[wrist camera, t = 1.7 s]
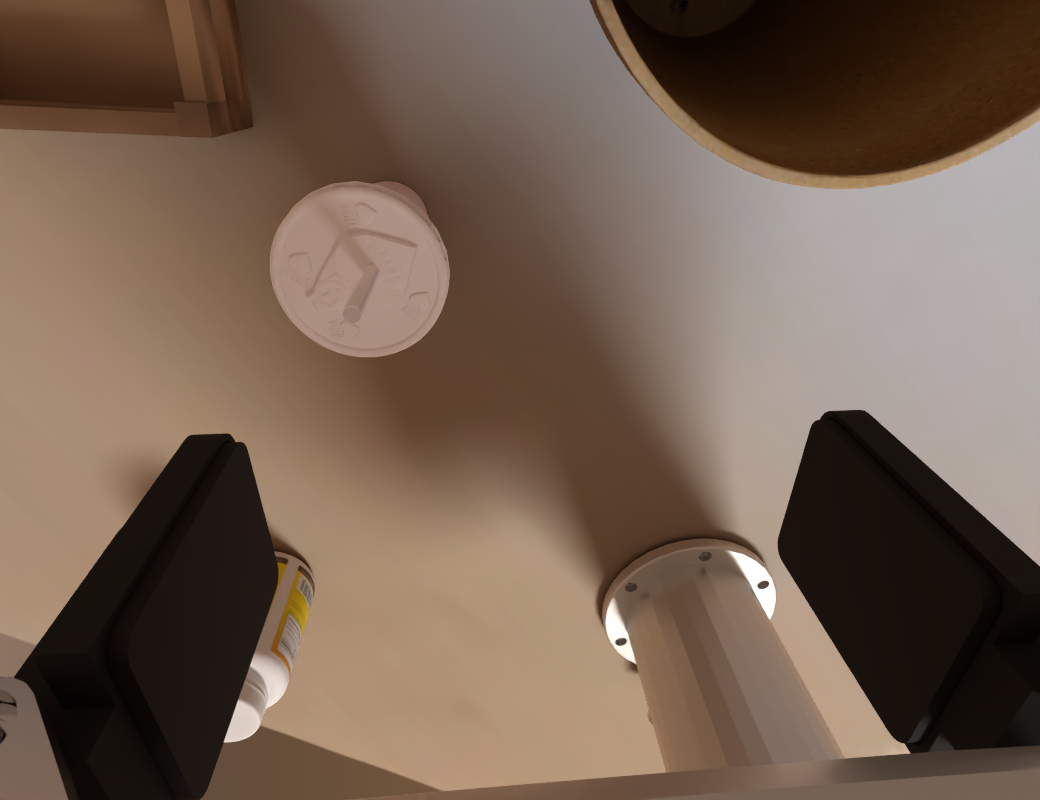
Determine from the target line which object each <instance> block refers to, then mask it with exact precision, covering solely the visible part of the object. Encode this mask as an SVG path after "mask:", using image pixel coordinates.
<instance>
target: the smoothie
mask: <svg viewBox="0 0 1040 800" xmlns="http://www.w3.org/2000/svg"><path fill="white" fill-rule="evenodd" d="M270 276H271V281H272V285H273V289H274V292H275V295H276V297H277V299H278V301H279V303H280V305H281V307H282V309H283V310H284V312H285V313H286V315H287V316H288V318H289V319H290V320H291V321H292V322H293V324H294V325H295V326H296V327H297V328H298V329H299V330H300V331H301V332H303V333H304V334H305V335H306V336H307V337H309V338H310V339H312V340H313V341H315V342H316V343H318V344H320V345H321V346H323V347H325V348H328V349H330V350H332V351H335V352H338V353H341V354H345V355H349V356H355V357H380V356H386V355H390V354H394V353H397V352H399V351H402V350H404V349H406V348H408V347H410V346H412V345H413V344H415V343H416V342H418V341H419V340H420V339H421V338H422V337H424V336H425V335H426V334H427V333H428V332H429V330H430V329H431V328H432V327H433V325H434V324H435V323H436V321H437V319H438V317H439V316H440V313H441V311H442V309H443V306H444V303H445V300H446V297H447V295H448V287H449V279H450V269H449V262H448V255H447V250H446V248H445V246H444V243H443V241H442V239H441V237H440V234H439V232H438V230H437V228H436V227H435V226H434V225H433V223H432V222H431V221H430V219H429V217H428V214H427V210H426V208H425V205H424V203H423V201H422V200H421V198H420V197H419V196H418V195H417V194H416V193H415V192H414V191H413V190H412V189H410V188H409V187H407V186H406V185H403V184H401V183H398V182H393V181H382V182H377V183H373V184H371V183H365V182H359V181H352V182H342V183H333V184H330V185H327V186H325V187H322V188H320V189H317V190H315V191H313V192H310V193H309V194H308V195H306V196H305V197H304V198H303V199H302V200H300V201H299V202H298V203H297V204H296V205H294V206H293V207H292V208H291V210H290V212H289V213H288V214H287V215H286V217H285V218H284V219H283V221H282V222H281V224H280V226H279V227H278V229H277V231H276V234H275V236H274V239H273V242H272V246H271V251H270Z"/></svg>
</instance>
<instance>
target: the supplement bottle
mask: <svg viewBox="0 0 1040 800" xmlns="http://www.w3.org/2000/svg"><path fill="white" fill-rule="evenodd" d="M274 552H275V556H276V560H277V564H278V570H279V578H278V585H277V589H276V592H275V595H274V598H273V601H272V604H271V607H270V609H269V612H268V615H267V618H266V621H265V624H264V627H263V630H262V633H261V636H260V638H259V641H258V644H257V647H256V650H255V653H254V656H253V659H252V662H251V664H250V667H249V670H248V673H247V676H246V679H245V682H244V685H243V688H242V690H241V693H240V696H239V699H238V702H237V705H236V708H235V711H234V714H233V717H232V719H231V722H230V725H229V728H228V731H227V734H226V737H225V740H224V742H235V741H239V740H243V739H245V738H247V737H249V736H251V735H252V734H253V733H255V732H256V730H257V729H258V727H259V726H260V723H261V720H262V717H263V714H264V712H265V711H266V708H268V707H270V706H272V705H273V704H274V703H276V702H277V701H278V700H279V699H280V698H281V697H282V695H283V694H284V692H285V690H286V688H287V685H288V682H289V679H290V676H291V672H292V668H293V665H294V662H295V658H296V655H297V651H298V648H299V644H300V641H301V638H302V634H303V631H304V627H305V624H306V620H307V617H308V613H309V610H310V606H311V603H312V599H313V596H314V591H315V580H314V577H313V574H312V573H311V571H310V569H309V568H308V567H307V566H306V565H305V564H304V563H303V562H302V561H300V560H299V559H297V558H295V557H293V556H291V555H289V554H286V553H282V552H276V551H274Z"/></svg>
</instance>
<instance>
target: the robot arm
mask: <svg viewBox="0 0 1040 800" xmlns="http://www.w3.org/2000/svg"><path fill="white" fill-rule="evenodd" d="M778 552H779V555H780V558H781V560H782V562H783V563H784V565H785V567H786V568H787V570H788V571H789V573H790V575H791V576H792V578H793V579H794V581H795V583H796V584H797V586H798V587H799V589H800V591H801V592H802V594H803V595H804V597H805V599H806V600H807V602H808V603H809V605H810V607H811V608H812V610H813V611H814V613H815V615H816V616H817V618H818V619H819V621H820V623H821V624H822V626H823V627H824V629H825V631H826V632H827V634H828V635H829V637H830V639H831V640H832V642H833V643H834V645H835V647H836V648H837V650H838V651H839V653H840V655H841V656H842V658H843V659H844V661H845V663H846V664H847V666H848V667H849V669H850V671H851V672H852V674H853V675H854V677H855V679H856V680H857V682H858V683H859V685H860V687H861V688H862V690H863V691H864V693H865V695H866V696H867V698H868V699H869V701H870V703H871V704H872V706H873V707H874V709H875V711H876V712H877V714H878V715H879V717H880V719H881V720H882V722H883V723H884V725H885V727H886V728H887V730H888V731H889V733H890V734H891V735H892V737H893V738H894V739H896V740H897V741H898V742H901V743H905V745H906V747H907V748H908V750H909V751H910V753H911V754H899V755H886V756H873V757H860V758H847V759H845V757H844V756H843V754H842V752H841V750H840V748H839V746H838V745H837V743H836V741H835V739H834V737H833V735H832V734H831V732H830V730H829V728H828V726H827V724H826V722H825V721H824V719H823V717H822V715H821V713H820V711H819V710H818V708H817V706H816V704H815V702H814V700H813V699H812V697H811V695H810V693H809V691H808V689H807V688H806V686H805V684H804V682H803V680H802V678H801V677H800V675H799V673H798V671H797V669H796V667H795V665H794V664H793V662H792V660H791V658H790V656H789V654H788V653H787V651H786V649H785V647H784V645H783V643H782V642H781V640H780V638H779V636H778V634H777V632H776V631H775V629H774V627H773V625H772V623H771V621H770V618H771V616H772V614H773V612H774V608H775V604H776V586H775V584H774V581H773V578H772V576H771V574H770V572H769V571H768V569H767V567H766V566H765V564H764V563H763V562H762V561H761V559H760V558H759V557H758V556H757V555H756V554H754V553H753V552H751V551H750V550H748V549H747V548H745V547H743V546H740V545H738V544H735V543H733V542H729V541H724V540H718V539H691V540H683V541H678V542H675V543H671V544H667V545H664V546H662V547H659V548H657V549H654V550H652V551H650V552H648V553H646V554H644V555H643V556H641V557H639V558H638V559H636V560H635V561H633V562H632V563H631V564H630V565H628V566H627V567H626V568H625V569H624V570H622V571H621V573H620V574H619V575H618V576H617V577H616V579H615V580H614V581H613V582H612V584H611V586H610V587H609V589H608V591H607V593H606V595H605V598H604V602H603V605H602V620H603V624H604V629H605V633H606V635H607V638H608V640H609V643H610V644H611V645H612V646H613V648H614V649H615V650H616V652H618V653H619V654H620V655H621V656H623V657H624V658H625V659H627V660H629V661H631V662H633V663H635V664H636V665H637V668H638V672H639V675H640V679H641V683H642V686H643V690H644V693H645V697H646V701H647V704H648V708H649V710H648V719H649V721H650V722H651V723H652V725H653V726H654V730H655V733H656V737H657V740H658V744H659V748H660V751H661V755H662V758H663V762H664V766H665V769H666V773H656V774H644V775H632V776H620V777H607V778H595V779H583V780H571V781H559V782H547V783H535V784H523V785H511V786H500V787H488V788H477V789H465V790H454V791H442V792H431V793H419V794H408V795H396V796H385V797H374V798H362V799H351V800H1040V566H1039V565H1037V564H1036V563H1035V562H1034V561H1033V560H1032V559H1031V558H1030V557H1029V556H1027V555H1026V554H1025V553H1024V552H1023V551H1022V550H1021V549H1020V548H1018V547H1017V546H1016V545H1015V544H1014V543H1013V542H1012V541H1011V540H1010V539H1008V538H1007V537H1006V536H1005V535H1004V534H1003V533H1002V532H1001V531H1000V530H998V529H997V528H996V527H995V526H994V525H993V524H992V523H991V522H989V521H988V520H987V519H986V518H985V517H984V516H983V515H982V514H981V513H979V512H978V511H977V510H976V509H975V508H974V507H973V506H972V505H970V504H969V503H968V502H967V501H966V500H965V499H964V498H963V497H962V496H960V495H959V494H958V493H957V492H956V491H955V490H954V489H953V488H951V487H950V486H949V485H948V484H947V483H946V482H945V481H944V480H943V479H941V478H940V477H939V476H938V475H937V474H936V473H935V472H934V471H932V470H931V469H930V468H929V467H928V466H927V465H926V464H925V463H924V462H922V461H921V460H920V459H919V458H918V457H917V456H916V455H915V454H914V453H912V452H911V451H910V450H909V449H908V448H907V447H906V446H905V445H903V444H902V443H901V442H900V441H899V440H898V439H897V438H896V437H895V436H893V435H892V434H891V433H890V432H889V431H888V430H887V429H886V428H884V427H883V426H882V425H881V424H880V423H879V422H878V421H877V420H876V419H874V418H873V417H872V416H871V415H870V414H869V413H867V412H866V411H863V410H846V411H828V412H826V413H824V414H823V416H822V417H821V419H820V420H817V421H815V422H814V423H813V424H812V426H811V428H810V432H809V435H808V438H807V442H806V445H805V449H804V452H803V455H802V459H801V462H800V466H799V469H798V472H797V476H796V479H795V483H794V486H793V489H792V493H791V496H790V500H789V503H788V506H787V510H786V513H785V517H784V520H783V524H782V527H781V530H780V534H779V537H778ZM278 578H279V570H278V564H277V560H276V556H275V552H274V548H273V545H272V541H271V537H270V533H269V529H268V526H267V522H266V518H265V514H264V511H263V507H262V503H261V499H260V495H259V492H258V488H257V484H256V480H255V476H254V473H253V469H252V465H251V461H250V458H249V454H248V450H247V447H246V445H245V444H244V443H242V442H235V440H234V438H233V437H232V436H231V435H230V434H202V435H190V436H188V437H187V438H186V439H185V440H184V442H183V443H182V445H181V446H180V447H179V449H178V450H177V452H176V453H175V454H174V456H173V457H172V459H171V460H170V461H169V463H168V464H167V466H166V467H165V468H164V470H163V471H162V473H161V474H160V475H159V477H158V478H157V480H156V481H155V482H154V484H153V485H152V487H151V488H150V489H149V491H148V492H147V494H146V495H145V496H144V498H143V499H142V501H141V502H140V503H139V505H138V506H137V508H136V509H135V510H134V512H133V513H132V515H131V516H130V517H129V519H128V520H127V522H126V523H125V524H124V526H123V527H122V528H121V529H120V530H119V531H118V533H117V534H116V535H115V537H114V538H113V540H112V541H111V542H110V544H109V545H108V547H107V548H106V549H105V551H104V552H103V554H102V555H101V556H100V558H99V559H98V561H97V562H96V563H95V565H94V566H93V568H92V569H91V570H90V572H89V573H88V575H87V576H86V577H85V579H84V580H83V582H82V583H81V584H80V586H79V587H78V589H77V590H76V591H75V593H74V594H73V595H72V597H71V598H70V600H69V601H68V602H67V604H66V605H65V607H64V608H63V609H62V611H61V612H60V614H59V615H58V616H57V618H56V619H55V621H54V622H53V623H52V625H51V626H50V628H49V629H48V630H47V632H46V633H45V635H44V636H43V637H42V639H41V640H40V642H39V643H38V644H37V646H36V647H35V649H34V650H33V651H32V653H31V654H30V656H29V657H28V658H27V660H26V661H25V663H24V664H23V665H22V667H21V668H20V670H19V671H18V672H17V674H16V675H15V677H14V678H13V677H0V800H200V799H201V798H202V797H203V796H204V794H205V792H206V790H207V788H208V785H209V783H210V780H211V777H212V774H213V771H214V769H215V766H216V763H217V760H218V757H219V754H220V751H221V748H222V745H223V743H224V740H225V737H226V734H227V731H228V728H229V725H230V722H231V719H232V717H233V714H234V711H235V708H236V705H237V702H238V699H239V696H240V693H241V690H242V688H243V685H244V682H245V679H246V676H247V673H248V670H249V667H250V664H251V662H252V659H253V656H254V653H255V650H256V647H257V644H258V641H259V638H260V636H261V633H262V630H263V627H264V624H265V621H266V618H267V615H268V612H269V609H270V607H271V604H272V601H273V598H274V595H275V592H276V589H277V585H278Z"/></svg>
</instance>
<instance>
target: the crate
mask: <svg viewBox="0 0 1040 800" xmlns="http://www.w3.org/2000/svg"><path fill="white" fill-rule="evenodd" d="M251 127H253V122H252V115H251V108H250V102H249V95H248V88H247V82H246V75H245V68H244V62H243V55H242V48H241V42H240V35H239V28H238V22H237V15H236V8H235V2H234V0H0V129H24V130H48V131H72V132H95V133H119V134H143V135H167V136H183V137H207V138H213V137H217V136H221V135H224V134H228V133H232V132H236V131H239V130H243V129H247V128H251Z"/></svg>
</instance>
